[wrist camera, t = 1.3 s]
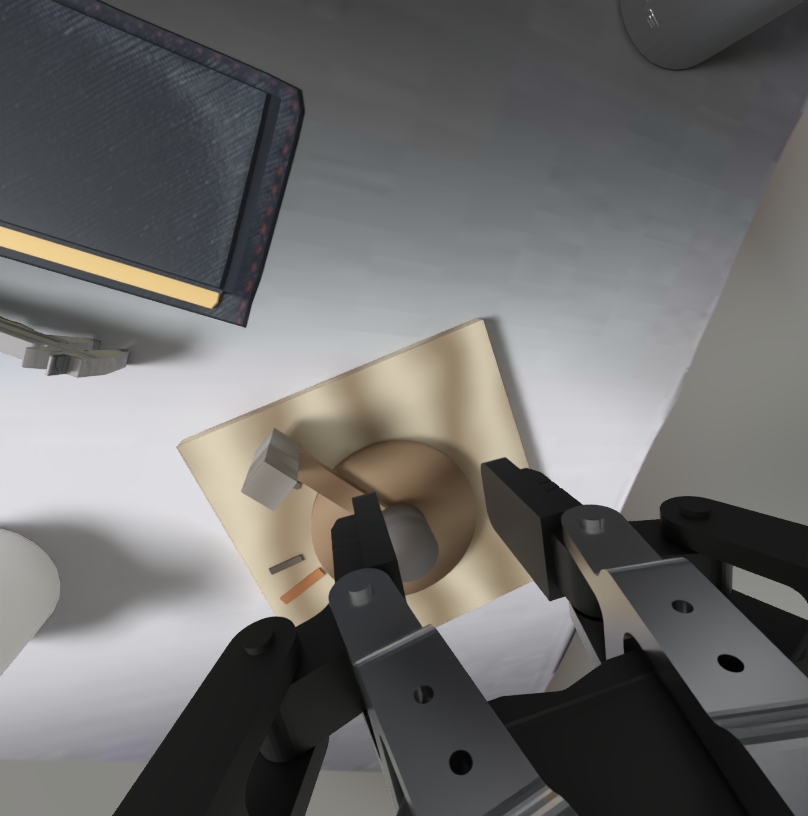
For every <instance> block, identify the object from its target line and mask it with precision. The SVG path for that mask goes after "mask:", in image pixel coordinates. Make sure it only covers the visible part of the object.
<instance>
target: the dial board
mask: <svg viewBox="0 0 808 816" xmlns="http://www.w3.org/2000/svg"><path fill="white" fill-rule="evenodd" d="M273 428H276V429H277V430H279V431H280V432H282V433H283V434H285V435H286V436H288V437H289V438H291V439H292V440H294V441H296V442H297V443H299V444H300V448H301V449H302V450H304V451H305V452H307V453H308V454H310V455H311V456H313V457H314V458H316V459H318V460H319V461H321V462H322V463H324V464H325V465H327V466H328V467H330V468H331V469H334V468H335V467H336V466H337V465H338V464H339V463H340V462H341V461H343V460H344V459H345V458H347V457H348V456H350V455H351V454H353V453H354V452H356V451H358V450H360V449H362V448H364V447H367V446H370V445H372V444H376V443H380V442H384V441H393V440H408V441H414V442H420V443H423V444H426V445H429V446H431V447H434V448H436V449H438V450H439V451H441V452H443V453H444V454H446V455H447V456H448V457H449V458H450V459H452V460H453V461H454V462H455V464H456V465H457V466H458V467H459V468H460V469H461V471H462V472H463V473H464V474H465V476H466V477H467V479H468V481H469V482H470V485H471V487H472V489H473V492H474V495H475V499H476V506H477V521H476V528H475V532H474V535H473V539H472V541H471V543H470V546H469V548H468V550H467V551H466V553H465V555H464V556H463V558H462V559H461V560H460V562H459V563H458V564H457V565H456V566H455V568H454V569H453V570H452V571H451V572H450V573H448V574H447V575H446V576H445V577H444V578H443V579H441V580H440V581H438V582H437V583H435V584H434V585H432V586H430V587H428V588H426V589H424V590H421V591H419V592H417V593H413V594H410V595H406V601H407V604H408V605H409V607H410V609H411V610H412V612H413V613H414V615H415V616H416V618H417V619H418V621H419V622H420V624H421V625H422V627H424V626H426V625H428V624H432V625H433V626H434V627H435V628H436V627H438V626H440V625H442V624H444V623H446V622H448V621H450V620H452V619H454V618H457V617H459V616H461V615H463V614H465V613H467V612H469V611H471V610H473V609H475V608H477V607H479V606H481V605H484V604H486V603H488V602H490V601H492V600H494V599H496V598H498V597H500V596H502V595H504V594H506V593H509V592H511V591H513V590H515V589H517V588H519V587H521V586H523V585H525V584H527V583H529V582H531V581H533V579H532V578H531V577H530V575H529V574H528V573H527V571H526V570H525V569H524V568H523V566H522V565H521V564H520V562H519V561H518V560H517V559H516V557H515V556H514V555H513V553H512V552H511V551H510V549H509V548H508V547H507V546H506V544H505V543H504V542H503V540H502V539H501V538H500V537H499V535H498V534H497V533H496V531H495V530H494V529H493V527H492V525H491V523H490V520H489V517H488V514H487V509H486V503H485V496H484V490H483V483H482V477H481V464H482V463H484V462H488V461H492V460H495V459H499V458H503V457H506V458H508V459H509V460H510V461H511V462H512V463H514V464H515V465H516V466H517V467H518V468H519V469H523V468H529V465H528V462H527V459H526V456H525V452H524V449H523V446H522V443H521V440H520V436H519V433H518V430H517V427H516V424H515V420H514V417H513V414H512V411H511V408H510V404H509V401H508V398H507V395H506V392H505V388H504V385H503V382H502V379H501V376H500V372H499V369H498V366H497V363H496V360H495V356H494V353H493V350H492V347H491V343H490V340H489V337H488V334H487V331H486V327H485V324H484V321H483V320H482V319H473V320H471V321H468V322H466V323H464V324H461V325H459V326H456V327H454V328H451V329H449V330H447V331H444V332H442V333H439V334H437V335H435V336H432V337H430V338H427V339H425V340H422V341H420V342H418V343H415V344H413V345H410V346H408V347H406V348H403V349H401V350H398V351H396V352H394V353H391V354H389V355H386V356H384V357H381V358H379V359H377V360H374V361H372V362H369V363H367V364H365V365H362V366H360V367H357V368H355V369H353V370H350V371H348V372H345V373H343V374H340V375H338V376H336V377H333V378H331V379H328V380H326V381H324V382H321V383H319V384H316V385H314V386H312V387H309V388H307V389H304V390H302V391H299V392H297V393H295V394H292V395H290V396H287V397H285V398H283V399H280V400H278V401H275V402H273V403H270V404H268V405H266V406H263V407H261V408H258V409H256V410H254V411H251V412H249V413H246V414H244V415H242V416H239V417H237V418H234V419H232V420H229V421H227V422H225V423H222V424H220V425H217V426H215V427H213V428H210V429H208V430H205V431H203V432H201V433H198V434H196V435H193V436H191V437H188V438H186V439H184V440H182V441H181V442H180V443H179V445H178V446H177V447H176V448H177V449H178V451H179V453H180V454H181V456H182V458H183V459H184V461H185V463H186V465H187V466H188V468H189V470H190V471H191V473H192V475H193V476H194V478H195V480H196V482H197V483H198V485H199V487H200V488H201V490H202V492H203V493H204V495H205V497H206V499H207V500H208V502H209V504H210V505H211V507H212V509H213V510H214V512H215V514H216V516H217V517H218V519H219V521H220V522H221V524H222V526H223V527H224V529H225V531H226V533H227V534H228V536H229V538H230V539H231V541H232V543H233V544H234V546H235V548H236V550H237V551H238V553H239V555H240V556H241V558H242V560H243V561H244V563H245V565H246V567H247V568H248V570H249V572H250V573H251V575H252V577H253V578H254V580H255V582H256V584H257V585H258V587H259V589H260V590H261V592H262V594H263V595H264V597H265V599H266V601H267V602H268V604H269V606H270V607H271V609H272V611H273V612H274V614H275V616H278V617H285V618H287V619H290V620H291V621H292V622H293V623H294V625H295V627H296V626H298V625H300V624H302V623H304V622H305V621H307V620H309V619H311V618H312V617H314V616H315V615H317V614H318V613H319V612H321V611H322V610H323V609H324V608H325V607H326V606H327V605H328V604H329V600H328V596H329V592H330V590H331V588H332V586H333V585H334V584H335V580H334V579H333V578H332V577H331V576H330V575H329V574H328V573H327V572H326V571H325V569H324V568H323V567H322V565H321V563H320V562H319V560H318V558H317V555H316V553H315V550H314V547H313V543H312V535H311V517H312V509H313V504H314V501H315V498H316V495H317V493H318V492H316V491H314V490H313V489H311V488H310V487H308V486H306V485H305V484H303V483H302V482H300V481H298V480H297V483H296V484H295V486H294V487H293V488H292V490H291V491H290V492H289V493H288V495H287V496H286V497H285V498H284V500H283V501H282V502H281V504H280V505H279V506H278V507H277V509H276V510H275V511H272V510H271V509H269V508H267V507H265V506H264V505H262V504H260V503H259V502H257V501H255V500H254V499H252V498H250V497H248V496H247V495H245V494H243V493H242V492H241V490H242V487H243V484H244V482H245V479H246V476H247V473H248V471H249V468H250V465H251V462H252V460H253V457H254V454H255V452H256V450H257V449H258V448H259V447H260V445H261V444H262V443H263V441H264V440H265V439H266V437H267V436H268V435H269V433H270V432H271V431H272V430H273ZM529 469H530V468H529Z"/></svg>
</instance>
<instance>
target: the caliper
mask: <svg viewBox="0 0 808 816" xmlns="http://www.w3.org/2000/svg"><path fill="white" fill-rule="evenodd" d="M100 342H101V341H98V340H94V339H90V338H79V337H67V336H56V335H45V334H42V333H39V332H37V331H34V330H33V329H31V328H29V327H27V326H25V325H23V324H21V323H18V322H14V321H10V320H8V319H5V318H3V317H1V316H0V352H3V353H6V354H9V355H11V356H14V357H17V358H20V359H23V361H22V365H21V367H25V368H37V369H47V370H46V374H45V375H47V376H51V375H59V374H68V375H71V376H74V377H77V378H78V377H87V376H97V375H106V374H108V373H111V372H114V371H116V370H119V369H122V368H124V367H126V363H127V359H128V355H129V351H128V350H125V349H107V350H99V346H100Z"/></svg>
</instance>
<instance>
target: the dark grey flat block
mask: <svg viewBox="0 0 808 816" xmlns="http://www.w3.org/2000/svg"><path fill="white" fill-rule="evenodd" d="M303 112H304V111H303V104H302V98H301V91H300V89H298V88H296V87H294V86H292V85H290V84H288V83H286V82H284V81H282V80H280V79H278V78H276V77H274V76H272V75H270V74H268V73H266V72H263V71H261V70H259V69H257V68H254V67H252V66H250V65H248V64H245V63H243V62H241V61H239V60H236V59H234V58H232V57H229V56H227V55H225V54H222V53H220V52H218V51H215V50H213V49H211V48H208V47H206V46H204V45H201V44H199V43H196V42H194V41H192V40H189V39H187V38H185V37H182V36H180V35H178V34H175V33H173V32H171V31H168V30H166V29H164V28H161V27H159V26H156V25H154V24H152V23H149V22H147V21H145V20H142V19H140V18H138V17H135V16H133V15H131V14H128V13H126V12H124V11H121V10H119V9H117V8H115V7H113V6H110V5H108V4H106V3H104V2H102V1H100V0H0V256H1V257H5V258H8V259H12V260H15V261H18V262H22V263H25V264H29V265H32V266H36V267H39V268H43V269H46V270H49V271H53V272H56V273H60V274H63V275H67V276H70V277H74V278H77V279H80V280H84V281H87V282H91V283H94V284H98V285H101V286H104V287H108V288H111V289H115V290H118V291H122V292H125V293H129V294H132V295H135V296H139V297H142V298H146V299H149V300H153V301H156V302H159V303H163V304H166V305H170V306H173V307H177V308H180V309H184V310H187V311H190V312H194V313H197V314H201V315H204V316H208V317H211V318H214V319H218V320H221V321H225V322H228V323H231V324H235V325H238V326H242V327H245V328H246V323H247V319H248V315H249V311H250V307H251V303H252V301H253V298H254V295H255V292H256V289H257V287H258V284H259V281H260V278H261V274H262V271H263V267H264V263H265V260H266V256H267V252H268V248H269V245H270V241H271V237H272V234H273V230H274V226H275V223H276V219H277V215H278V211H279V208H280V204H281V200H282V196H283V192H284V189H285V185H286V181H287V177H288V174H289V170H290V166H291V162H292V159H293V155H294V151H295V147H296V144H297V139H298V135H299V130H300V126H301V121H302V117H303Z"/></svg>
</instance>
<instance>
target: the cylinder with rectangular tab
mask: <svg viewBox="0 0 808 816" xmlns="http://www.w3.org/2000/svg"><path fill="white" fill-rule="evenodd" d="M60 586H61V582H60V579H59V575H58V571H57V568H56V566H55V565H54V563H53V562H52V560H51V559H50V557H49V556H48V554H47V553H46V552H44V551H43V550H42V549H41V548H40V547H39V546H38V545H37V544H35V543H34V542H33V541H31V540H29V539H27V538H25V537H23V536H22V535H20V534H18V533H15V532H12V531H9V530H5V529H2V528H0V676H1V675H2V674H3V673H4V671H5V670H6V669H7V668H8V667H9V665H10V664H11V663H12V662H13V660H14V659H15V658H16V657H17V656H18V654H19V653H20V652H21V651H22V649H23V648H24V647H25V646H26V645H27V643H28V642H29V641H30V640H31V638H32V637H33V636H34V635H35V634H36V632H37V631H38V630H39V629H40V627H41V626H42V625H43V624H44V623H45V621H46V620H47V619H48V618H49V617H50V615H51V614H52V613H53V612H54V610H55V607H56V605H57V603H58V600H59V598H60Z"/></svg>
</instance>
